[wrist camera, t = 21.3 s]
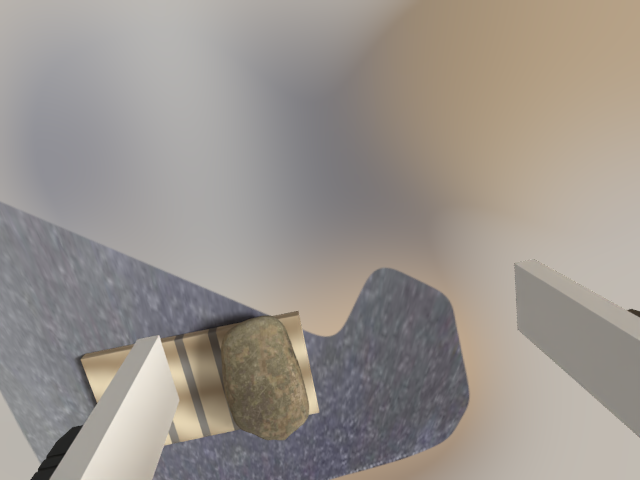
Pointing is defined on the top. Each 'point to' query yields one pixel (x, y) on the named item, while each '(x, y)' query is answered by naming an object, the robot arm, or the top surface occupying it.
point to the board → (197, 377)
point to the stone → (263, 379)
